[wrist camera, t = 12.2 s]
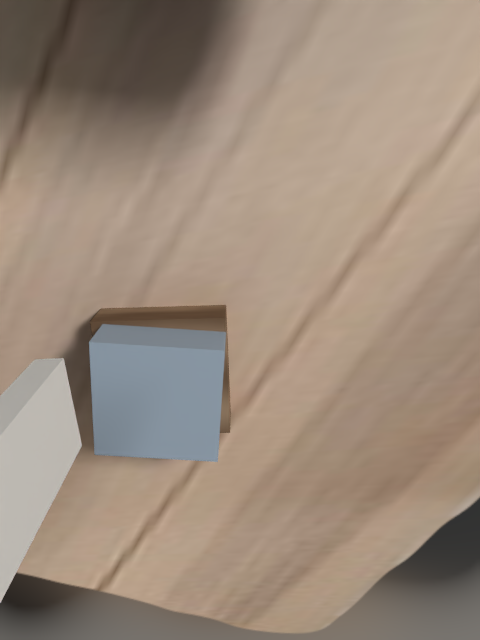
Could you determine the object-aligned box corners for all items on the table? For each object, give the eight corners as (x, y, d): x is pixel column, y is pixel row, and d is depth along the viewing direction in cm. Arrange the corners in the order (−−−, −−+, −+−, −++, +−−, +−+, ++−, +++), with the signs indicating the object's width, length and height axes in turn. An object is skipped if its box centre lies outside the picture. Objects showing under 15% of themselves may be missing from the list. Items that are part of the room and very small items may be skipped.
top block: (102, 323, 41) (88, 342, 37) (226, 332, 41) (224, 350, 37) (106, 428, 45) (94, 454, 41) (219, 435, 45) (217, 461, 41)
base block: (102, 306, 44) (89, 321, 41) (226, 303, 44) (225, 317, 41) (117, 413, 49) (107, 435, 45) (230, 410, 49) (229, 432, 45)
